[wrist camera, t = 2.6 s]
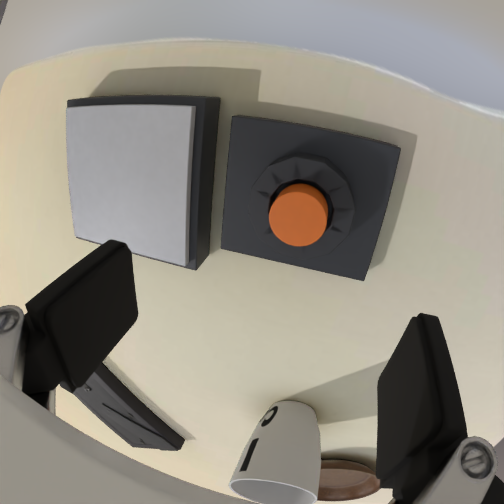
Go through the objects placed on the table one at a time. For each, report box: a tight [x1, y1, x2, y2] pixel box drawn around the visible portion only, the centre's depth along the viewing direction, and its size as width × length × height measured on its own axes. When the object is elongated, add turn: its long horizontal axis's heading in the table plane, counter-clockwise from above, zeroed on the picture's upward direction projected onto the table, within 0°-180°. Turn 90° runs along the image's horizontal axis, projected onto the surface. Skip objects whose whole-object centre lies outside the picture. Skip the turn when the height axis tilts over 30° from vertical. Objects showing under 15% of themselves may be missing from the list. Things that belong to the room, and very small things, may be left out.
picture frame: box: [73, 363, 185, 451], centre depth 40 cm, size 13×2×18 cm
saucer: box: [317, 460, 381, 501], centre depth 34 cm, size 15×15×3 cm
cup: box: [229, 401, 321, 504], centre depth 26 cm, size 8×8×10 cm
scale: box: [66, 95, 220, 270], centre depth 21 cm, size 12×12×3 cm
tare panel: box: [221, 115, 401, 281], centre depth 18 cm, size 10×9×3 cm
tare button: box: [269, 183, 328, 246], centre depth 17 cm, size 3×3×2 cm
